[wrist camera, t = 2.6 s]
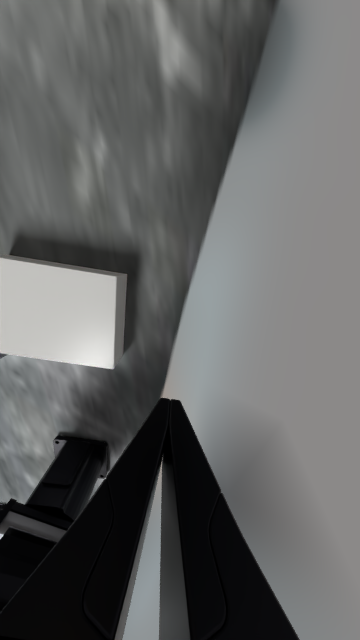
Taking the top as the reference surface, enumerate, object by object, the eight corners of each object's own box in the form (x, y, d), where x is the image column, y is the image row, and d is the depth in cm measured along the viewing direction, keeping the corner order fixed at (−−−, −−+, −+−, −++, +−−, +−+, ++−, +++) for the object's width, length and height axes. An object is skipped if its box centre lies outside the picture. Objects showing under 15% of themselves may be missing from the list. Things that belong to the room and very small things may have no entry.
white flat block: (123, 354, 17) (113, 369, 15) (22, 339, 17) (-4, 352, 15) (127, 274, 15) (116, 276, 12) (8, 254, 14) (-26, 253, 12)
